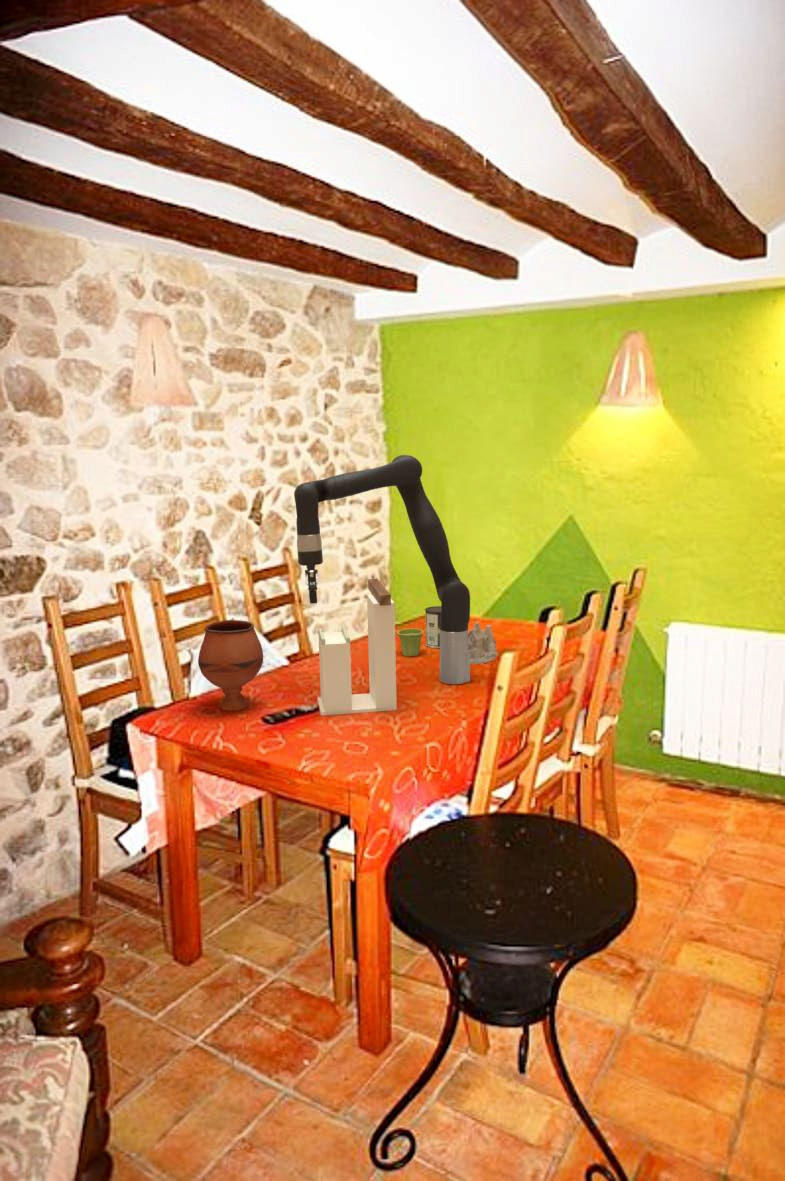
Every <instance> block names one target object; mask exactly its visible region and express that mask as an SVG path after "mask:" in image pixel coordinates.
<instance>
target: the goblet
mask: <svg viewBox="0 0 785 1181" xmlns="http://www.w3.org/2000/svg"><path fill="white" fill-rule="evenodd" d="M204 631H205V632H204V637H203V640H202V643H201V646H200V650H199V654H198V660H197V663H198V668H199V670H200V672H201V674H202V675H203V677H204V678H205V679H206V680H207V681H208V682H209V683H210V684H212V685H214V686H216V687H217V688H220V689H221V691H222V693H223V694H224V697H223V698H222V700H221V701H220V703H219V705H218V706H219V708H220V709H221V710H223V711H229V712H231V711H240V710H243V709H246V708H247V707H249V700H248V699H247V698H246V697H245V696H244V695H243V694H242V693H241V692H242V691H243V687H244V686H246V685H247V684H249V683H250V682H251V681H252V680H253V679H255V677H256V676H257V675H258V673H259V671H260V670H261V668H262V666H263V663H264V651H263V648H262V643H261V641H260V639H259V636H258V634H257V632H256V630H255V625H254V624H253V623H252V622H250V621H247V620H239V619H224V620H219V621H216V622H212V623H209V624H207V625H205V627H204Z"/></svg>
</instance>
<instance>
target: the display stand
mask: <svg viewBox="0 0 785 1181" xmlns="http://www.w3.org/2000/svg"><path fill="white" fill-rule="evenodd" d="M366 599H367V600H366V601H367V603H366V604H367V636H368V638H367V640H368V641H367V642H368V645H367V647H368V675H369V676H368V678H369V679H368V680H369V681H368V682H369V684H368V685H369V693H356V694H354V693H353V694H352V690H353V689H352V688H353V687H352V664H351V663H352V662H351V661H352V660H351V637H350V635H349V633H348V630H347V628H346V626H341V631H330V632H323V628H321V627H319V628H317V629H318V630H317V632H318V633H317V634H318V635H317V636H318V656H319V658H318V659H319V661H318V662H319V679H320V680H319V682H320V696H317V703H318V708H319V712H320V713H319V714H320V716H333V715H346V714H347V715H350V714H360V713H361V714H362V713H377V712H388V711H389V712H390V711H397V662H396V614H395V612H396V611H395V609H396V608H395V606H396V605H395V602H394V600H393V599H392V598H391V605H386V606H380V605H379V603H378V602H377V600H376V599H375V598H374V596H373V595H372V593H371V594H368V593H367V594H366Z"/></svg>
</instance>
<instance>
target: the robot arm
mask: <svg viewBox="0 0 785 1181" xmlns="http://www.w3.org/2000/svg"><path fill="white" fill-rule="evenodd" d="M422 474H423V466H422V464H421V461H420V460H419V459H417V458H416V457H415V456H413V455H408V454H401V455H397V456H395V458H393V459H392V461H391V462H389V463H386V464H384V465H381V466H378V467H374V468H369V469H363V470H357V471H350V472H345V473H341V474H337V475H332V476H329V477H327V478H324V479H318V480H313V481H307V482H303V483H301V484H298V485H297V486H296V488H295V489H294V491H293V492H294V493H293V497H294V502H295V510H296V512H295V513H296V524H295V525H296V547H297V548H296V550H297V562H298V563H297V564H298V565H299V566H306V569H305V570H304V577H305V578H306V579H305V581H306V586H308V587H307V591H308V595H309V596H308V597H309V603H310V604H317V603H318V595H317V594H318V592H317V591H318V584H319V581H318V580H319V579H318V576H319V570H318V569H316V566H318V565H322V564H323V563H324V559H323V557H324V556H323V547H322V546H323V545H322V544H323V543H322V537H321V527H320V526H321V525H320V518H319V503H322V502H326V501H334V500H340V499H343V498H347V497H351V496H355V495H358V494H362V493H365V492H370V491H372V490H373V491H374V490H377V489H383V488H386V487H387V488H388V487H396V488H397V490H398V492H399V495H400V497H401V499H402V501H403V504H404V507H405V510H406V513H407V517H408V521H409V523H410V526H411V529H412V532H413V535H414V537H415V540H416V542H417V544H418V547H419V550H420V552H421V554H422V555H423V557H424V558H423V559H424V560H425V562H426V564H427V565H428V567H429V570H430V573H431V576H432V579H433V582H434V585H435V590H436V595H437V598H438V599H439V602H440V603H441V605H440V606H441V620H440V622H439V629H440V648H439V681H440V682H441V683H443V684H446V685H447V684H448V685H461V684H465V683H471V665H470V653H469V652H468V633H469V623H470V616H471V593H470V590H469V588H468V586H467V585H466V584H465V583H463V582H462V580H461V579H460V576H459V575H458V573H457V571H456V569H455V567H454V564H453V562H452V559H451V554H450V553H451V552H450V547H449V541H448V538H447V534H446V531H445V529H444V527H443V523H442V521H441V519H440V517H439V515H438V513H437V511H436V509H435V508H434V506H433V505H432V503H431V501H430V500H429V498H428V496H427V494H426V491H425V489H424V486H423V483H422V480H421V477H422Z"/></svg>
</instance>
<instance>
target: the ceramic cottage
mask: <svg viewBox="0 0 785 1181" xmlns="http://www.w3.org/2000/svg"><path fill="white" fill-rule="evenodd" d="M493 635H494V634H493V630H492V625H490V624H489V625H488V624H487V625H486V627H485V630H484V629H481V626H480V624H479V622H477V621H475V622H474V625H473V628H472V629H470V630H469V631H468V652H469V653H470V664H472V665H471V666H474V665H473V664H481V665H483V664H482V663H487V662H489V661H493V660H494V659H495V658H496V657H497V655H498V654H499V653H498V651H497V646H496V643H497V641H496V640H495V638H494V636H493ZM493 662H494V661H493ZM489 663H490V662H489ZM487 664H488V663H487Z"/></svg>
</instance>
